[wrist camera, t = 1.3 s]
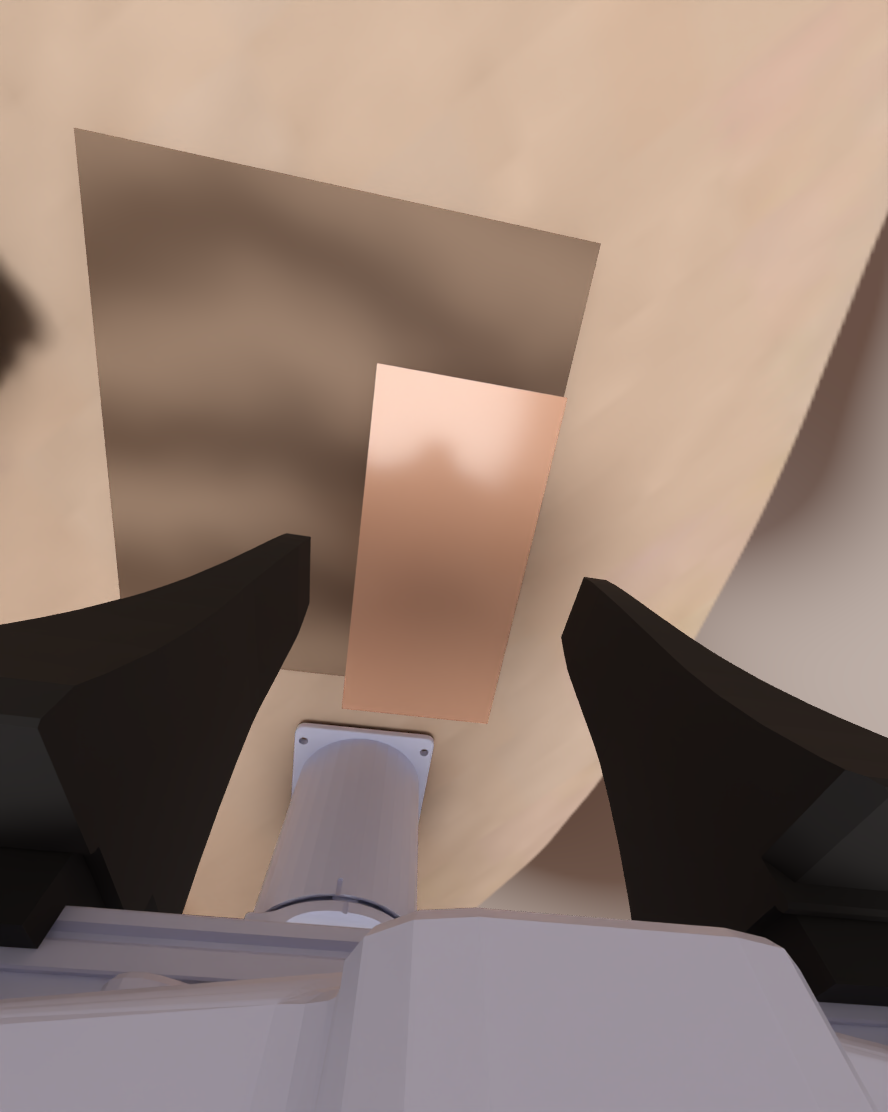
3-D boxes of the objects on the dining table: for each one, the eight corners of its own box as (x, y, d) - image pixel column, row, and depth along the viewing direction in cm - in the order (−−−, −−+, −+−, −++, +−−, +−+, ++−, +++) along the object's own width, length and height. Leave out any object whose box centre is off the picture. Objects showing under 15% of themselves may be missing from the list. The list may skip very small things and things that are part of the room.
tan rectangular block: (471, 641, 22) (487, 723, 16) (363, 628, 21) (341, 708, 16) (523, 399, 18) (567, 397, 12) (392, 376, 18) (376, 363, 12)
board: (489, 681, 24) (500, 732, 20) (138, 641, 22) (80, 689, 19) (591, 252, 17) (637, 209, 13) (95, 144, 15) (-11, 60, 12)
